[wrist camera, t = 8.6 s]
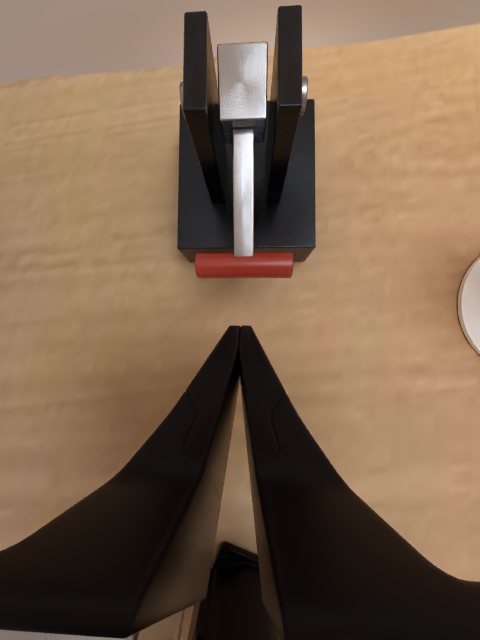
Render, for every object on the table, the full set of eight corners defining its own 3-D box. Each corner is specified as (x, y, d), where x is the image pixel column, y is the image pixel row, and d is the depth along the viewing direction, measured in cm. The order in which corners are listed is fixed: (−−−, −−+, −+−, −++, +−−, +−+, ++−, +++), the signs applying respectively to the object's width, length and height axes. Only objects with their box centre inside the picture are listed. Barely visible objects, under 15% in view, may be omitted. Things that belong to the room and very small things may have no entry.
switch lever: (287, 275, 15) (294, 279, 13) (202, 276, 15) (193, 280, 13) (296, 79, 12) (307, 38, 10) (192, 84, 12) (179, 44, 10)
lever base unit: (304, 261, 20) (366, 182, 9) (189, 262, 21) (121, 188, 10) (303, 137, 20) (362, -75, 10) (191, 141, 21) (128, -58, 10)
